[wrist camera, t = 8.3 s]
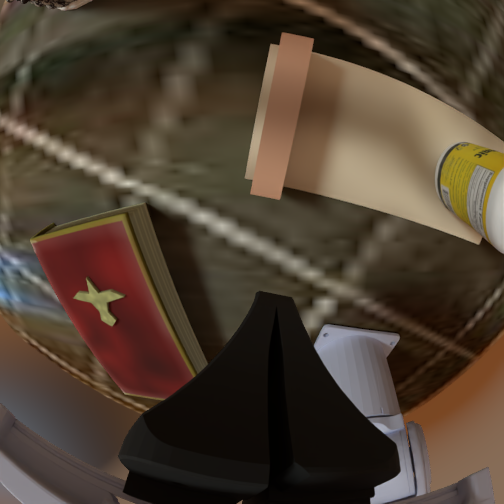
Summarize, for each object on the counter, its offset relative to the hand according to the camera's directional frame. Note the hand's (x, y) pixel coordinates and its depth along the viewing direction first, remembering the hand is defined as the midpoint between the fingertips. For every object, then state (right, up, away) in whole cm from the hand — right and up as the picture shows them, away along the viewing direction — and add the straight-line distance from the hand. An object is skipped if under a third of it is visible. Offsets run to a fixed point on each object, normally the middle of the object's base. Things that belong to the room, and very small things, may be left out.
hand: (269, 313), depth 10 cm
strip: (+9, +9, +5) cm, 14 cm away
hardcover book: (-12, -3, +15) cm, 19 cm away
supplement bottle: (+14, +8, +5) cm, 17 cm away
